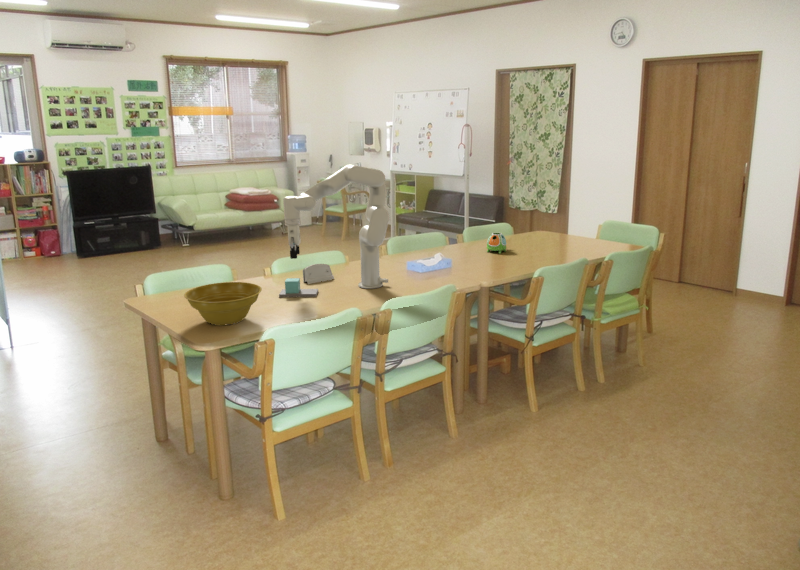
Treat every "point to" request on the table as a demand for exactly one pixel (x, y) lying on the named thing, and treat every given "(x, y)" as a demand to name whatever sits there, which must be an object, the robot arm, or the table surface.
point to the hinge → (317, 273)
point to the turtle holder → (496, 242)
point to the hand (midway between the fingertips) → (295, 256)
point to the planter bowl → (223, 301)
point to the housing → (292, 285)
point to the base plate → (300, 293)
